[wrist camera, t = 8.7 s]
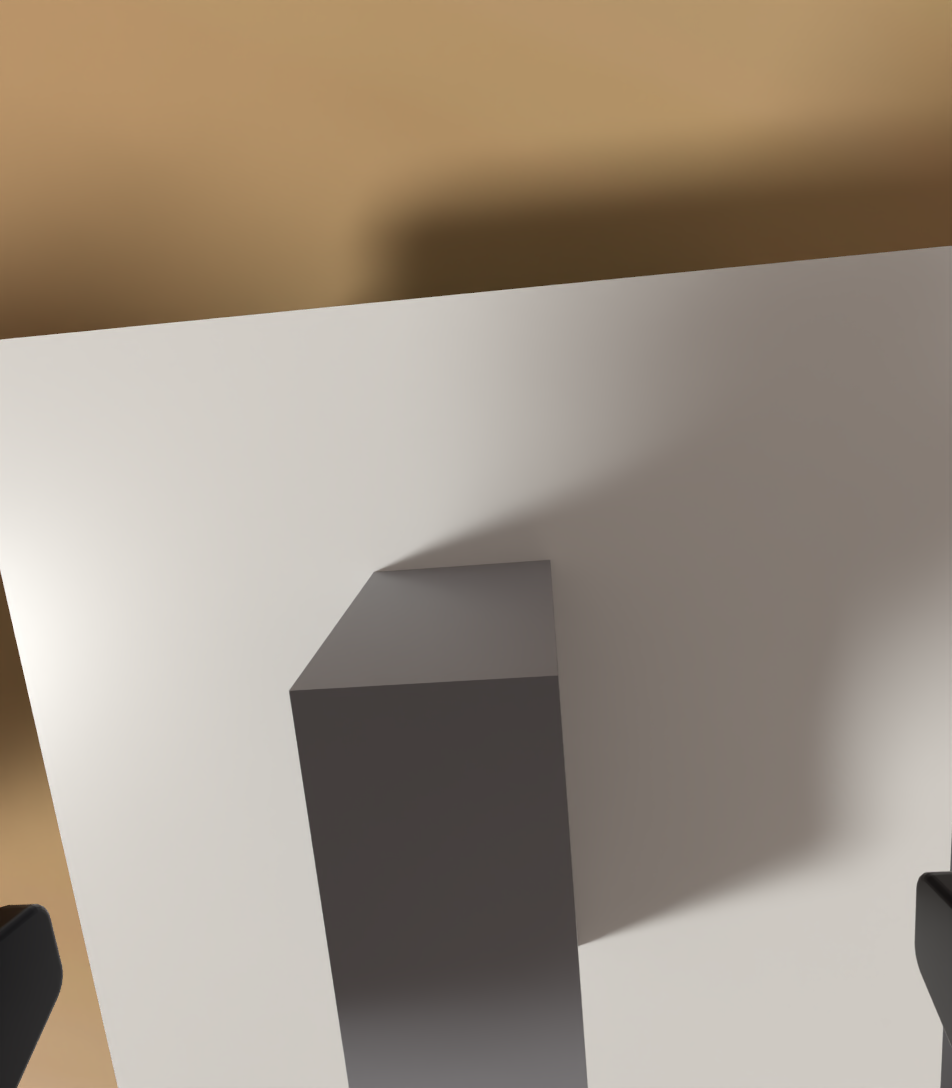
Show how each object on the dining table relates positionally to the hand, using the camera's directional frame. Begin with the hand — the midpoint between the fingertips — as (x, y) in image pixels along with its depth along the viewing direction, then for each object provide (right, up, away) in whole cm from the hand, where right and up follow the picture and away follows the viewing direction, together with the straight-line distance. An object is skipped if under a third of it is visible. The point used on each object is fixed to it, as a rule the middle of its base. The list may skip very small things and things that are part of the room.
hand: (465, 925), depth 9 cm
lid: (0, +1, +4) cm, 4 cm away
